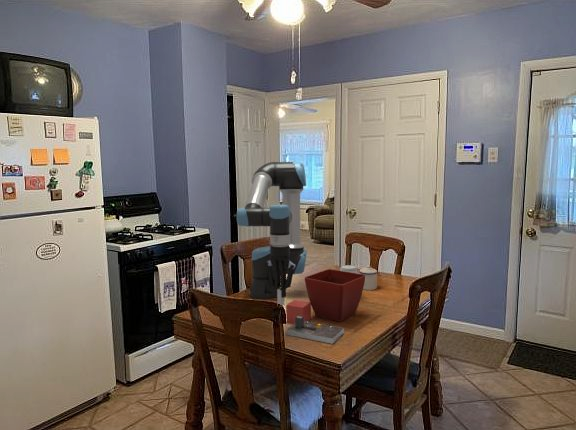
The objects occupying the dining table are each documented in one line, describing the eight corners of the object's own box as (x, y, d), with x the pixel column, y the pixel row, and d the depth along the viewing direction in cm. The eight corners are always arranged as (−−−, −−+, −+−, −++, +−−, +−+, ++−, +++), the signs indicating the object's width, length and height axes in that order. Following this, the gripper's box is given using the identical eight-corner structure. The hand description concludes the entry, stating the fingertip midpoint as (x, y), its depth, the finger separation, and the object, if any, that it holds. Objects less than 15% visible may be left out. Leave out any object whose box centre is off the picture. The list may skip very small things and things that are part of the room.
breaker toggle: (295, 326, 164) (295, 317, 164) (298, 324, 166) (298, 315, 166) (301, 327, 163) (300, 318, 162) (303, 325, 165) (303, 316, 165)
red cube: (286, 321, 176) (286, 305, 175) (294, 315, 182) (294, 299, 181) (302, 324, 172) (302, 307, 171) (310, 318, 179) (310, 302, 178)
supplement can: (356, 300, 201) (357, 269, 199) (339, 299, 202) (339, 268, 200) (357, 295, 208) (357, 265, 207) (340, 294, 210) (340, 264, 208)
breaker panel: (286, 334, 163) (285, 327, 162) (299, 324, 172) (299, 318, 172) (332, 344, 154) (332, 337, 153) (343, 333, 163) (343, 326, 163)
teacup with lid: (378, 286, 223) (378, 264, 222) (376, 291, 215) (376, 268, 213) (355, 284, 227) (355, 262, 226) (352, 289, 219) (352, 266, 217)
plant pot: (329, 304, 196) (329, 268, 194) (366, 313, 184) (366, 274, 182) (303, 316, 182) (303, 277, 180) (342, 326, 170) (342, 285, 168)
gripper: (260, 245, 164) (261, 305, 167) (290, 248, 158) (291, 310, 161) (270, 242, 171) (271, 300, 173) (299, 244, 165) (300, 304, 167)
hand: (280, 305), depth 167 cm, fingers closed
